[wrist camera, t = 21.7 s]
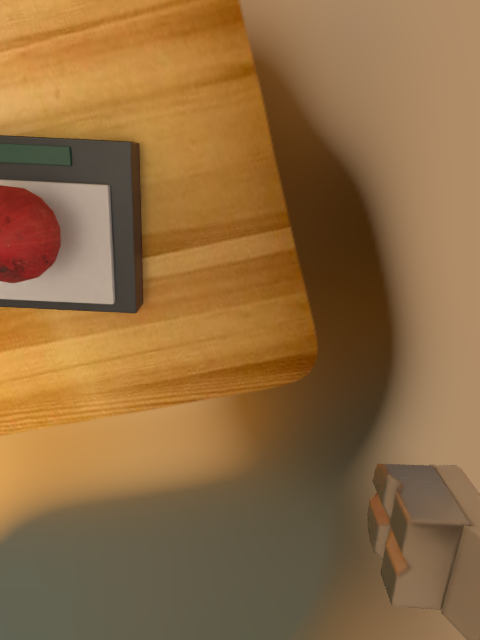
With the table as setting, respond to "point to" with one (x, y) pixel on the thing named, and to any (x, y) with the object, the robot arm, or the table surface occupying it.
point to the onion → (26, 235)
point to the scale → (81, 222)
